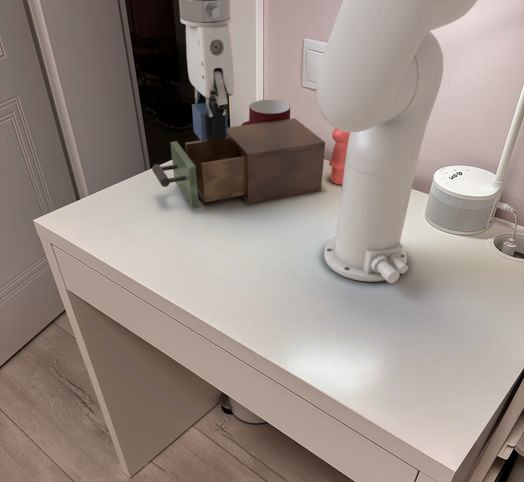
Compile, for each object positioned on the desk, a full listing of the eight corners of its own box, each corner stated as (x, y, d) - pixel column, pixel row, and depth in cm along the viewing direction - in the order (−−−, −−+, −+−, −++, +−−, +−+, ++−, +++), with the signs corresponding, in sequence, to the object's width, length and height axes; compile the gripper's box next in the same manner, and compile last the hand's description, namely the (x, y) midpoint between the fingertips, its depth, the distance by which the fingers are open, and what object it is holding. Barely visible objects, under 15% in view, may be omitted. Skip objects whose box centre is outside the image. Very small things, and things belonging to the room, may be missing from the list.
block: (227, 138, 91) (227, 110, 88) (201, 142, 89) (200, 113, 86) (218, 128, 94) (217, 101, 91) (193, 132, 92) (191, 104, 89)
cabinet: (248, 204, 96) (248, 154, 90) (224, 175, 104) (223, 128, 98) (321, 190, 100) (325, 142, 94) (292, 164, 108) (295, 118, 102)
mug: (247, 169, 106) (247, 118, 100) (232, 154, 112) (231, 104, 105) (295, 160, 110) (297, 110, 103) (277, 146, 115) (279, 97, 108)
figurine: (344, 172, 106) (354, 91, 96) (359, 182, 103) (370, 100, 92) (322, 176, 104) (329, 95, 94) (336, 187, 101) (345, 104, 91)
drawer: (167, 212, 91) (162, 171, 86) (151, 184, 99) (145, 145, 94) (264, 195, 96) (264, 155, 92) (241, 169, 104) (241, 131, 99)
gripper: (249, 20, 74) (249, 149, 87) (211, -3, 86) (216, 114, 98) (198, 24, 72) (205, 156, 85) (165, 0, 84) (176, 119, 96)
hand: (211, 132), depth 91 cm, fingers closed on block, 4 cm apart
